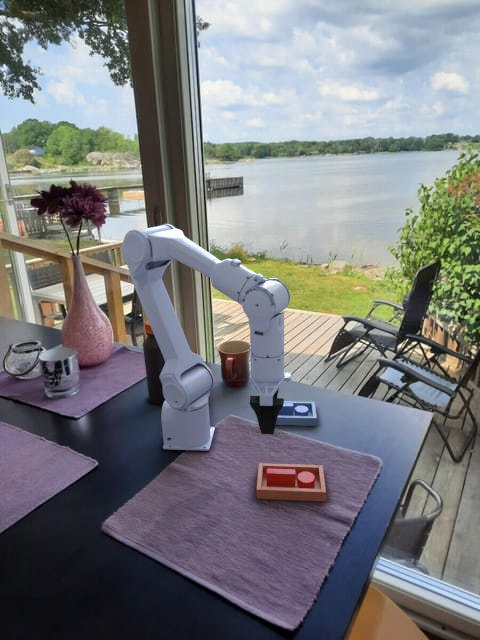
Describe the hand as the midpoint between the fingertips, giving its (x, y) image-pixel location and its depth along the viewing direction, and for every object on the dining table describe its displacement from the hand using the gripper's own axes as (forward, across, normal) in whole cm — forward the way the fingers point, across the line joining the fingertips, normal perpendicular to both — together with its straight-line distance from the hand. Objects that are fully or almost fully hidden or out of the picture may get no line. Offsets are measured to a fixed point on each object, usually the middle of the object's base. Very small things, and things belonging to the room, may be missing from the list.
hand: (268, 420), depth 79 cm
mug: (+10, +32, +10) cm, 35 cm away
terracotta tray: (+10, -5, -4) cm, 12 cm away
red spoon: (+10, -5, -4) cm, 11 cm away
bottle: (+10, +25, +27) cm, 38 cm away
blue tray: (+10, +18, -4) cm, 21 cm away
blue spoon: (+10, +18, -4) cm, 21 cm away
